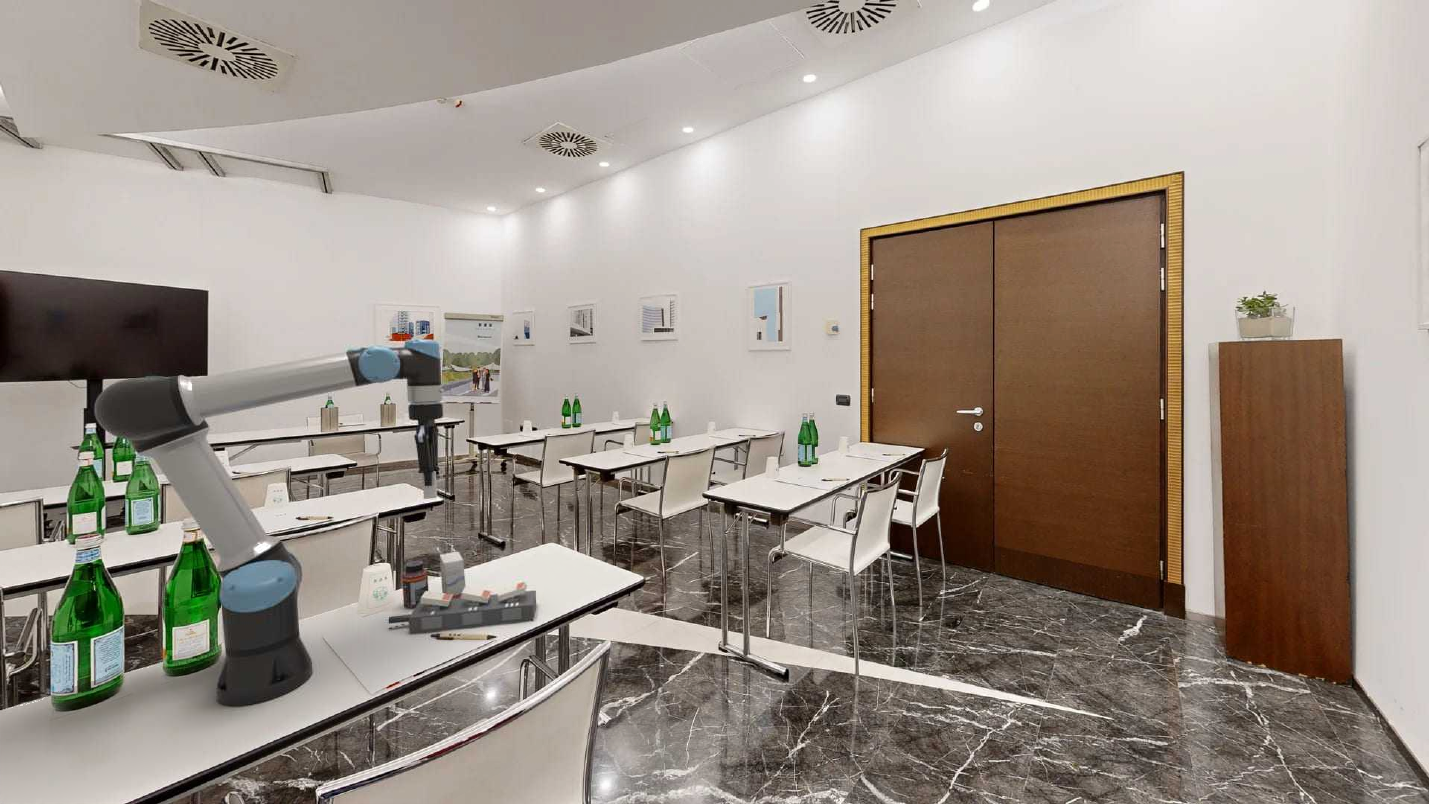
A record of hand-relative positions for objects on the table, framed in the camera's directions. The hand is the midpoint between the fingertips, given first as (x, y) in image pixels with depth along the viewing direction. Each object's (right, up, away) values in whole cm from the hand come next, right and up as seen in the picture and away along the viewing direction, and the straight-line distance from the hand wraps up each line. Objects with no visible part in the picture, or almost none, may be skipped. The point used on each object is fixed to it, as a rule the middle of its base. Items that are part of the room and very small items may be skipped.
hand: (430, 497), depth 141 cm
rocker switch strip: (+8, -30, 0) cm, 32 cm away
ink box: (0, -30, +13) cm, 32 cm away
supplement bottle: (-8, -30, +10) cm, 33 cm away
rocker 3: (+20, -25, +2) cm, 32 cm away
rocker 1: (+2, -25, -2) cm, 25 cm away
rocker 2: (+11, -25, 0) cm, 27 cm away
